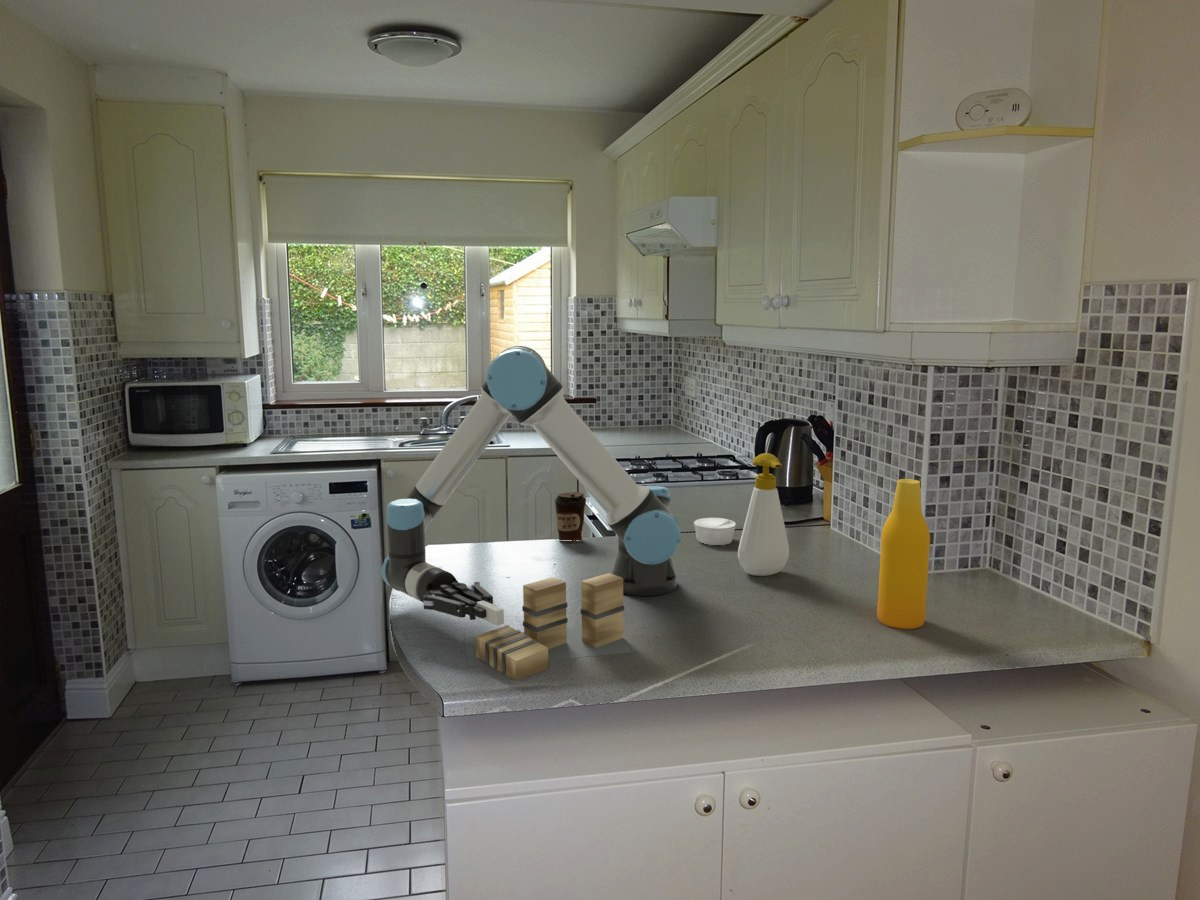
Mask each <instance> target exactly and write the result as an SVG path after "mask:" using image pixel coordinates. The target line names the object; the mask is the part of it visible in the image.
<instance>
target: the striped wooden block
mask: <svg viewBox="0 0 1200 900" xmlns="http://www.w3.org/2000/svg"><path fill="white" fill-rule="evenodd" d="M521 632H522V631H521V630H519V629H515V628H514V627H512V626H509V624H506V625H504V626H501V627H498V628H495V629H493V630H490V631H487V632H485V633H482V634H479V635H475V636H476V657H478V658H479V659H481V660H482V661H484V662H486V665H488V666H489V665H490V666H491V668H493V670H495V671H498V672H500V673H501V674H503V675H505V676H507V677H510V678H511V679H513V680H515V681H518V680H520V679H521V680H522V679H524V678H526V677H529V676H531V675H534V674H537V673H540V672H542V671H545V670H548V669H549V660H548V648H547V647H545V646H544V645H542V644H540V643H538V641H537V640H535V639H534V640H533V639H531V638H529V636H528V635H527V634H526V635H524V634H522V633H521ZM488 666H487V667H488ZM490 666H489V667H490Z"/></svg>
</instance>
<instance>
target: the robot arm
mask: <svg viewBox="0 0 1200 900" xmlns="http://www.w3.org/2000/svg"><path fill="white" fill-rule="evenodd" d="M564 391H565V387H564V386H563V385H562V383H561V381H559V380H558V379H557V377H556V376H555V375H554V374H553V373H552V371H550V369H549V368H548V367H547V365H546V363H545V360H544V359H543V358H542V355H540V353H538V352H537V351H536V350H534V349H532V348H530V347H528V346H526V345H525V346H523V345H514V346H510V347H508V348H506V349H504V350H503V351H501V352H500V353H498V354H497V355H496V356H495V357H494V359H492V360H491V362H490V364H489V366H488V368H487V371H486V380H485V381H484V383H483V384H482V386H481V387H480V392H481V395H480V397H479V398H478V399H477V400H476V402H475V404H473V406H472V407H471V408H470V410H469V411H468V413H467V414H466V416H465V418H464V419H462V422H460V424H459V425H458V426H457V428H456V429H455V431H454V432H453V434H452V435H451V436H450V437H449V439H448V440H447V441H446V444H444V446H443V447H442V448H441V450H440V451H439V453H438V454H437V456H436V457H435V458H434V459H433V461H432V463H431V464H430V465H429V466H428V468H427V469H426V471H425V472H424V473H423V475H422V476H421V478H419V480H418V481H417V483H416V484H415V486H414V487H413V488H412V490H411V491H410V492H409V494H408V495H407V497H405V498H401V499H400V498H399V499H395V500H393V501H389V503H388V504H387V506H386V518H385V521H386V525H387V529H386V530H387V542H388V543H387V545H388V556H387V557H385V559H384V561H383V563H382V566H381V568H380V569H381V570H380V573H381V575H380V576H381V577H382V580H383V581H384V582H385V583H386V584H387V585H388V586H389V587H391V588H392V589H393V590H395V591H397V592H401V593H403V594H406V595H407V596H408V597H412V598H413V599H415V600H417V601H419V602H421V603H423V609H424V610H430V611H437V612H440V613H444V614H446V615H450V616H452V617H453V616H454V617H457V618H463V619H464V618H465V617H466V616H469V620H470V621H475V620H477V618H478V619H482V620H484V621H486V622H489V623H490V624H493V625H495V626H497V627H498V626H501V625H504V624H505V618H504V617H505V613H504V611H505V610H504V609H503V608H501V607H500V606H498V605H496V604H494V596H493V595H492V594H491V593H490V592H489V591H488V590H486V588H484V587H482V585H481V582H480V581H475V582H473V584H471V585H467V584H466V583H463V582H459V581H458V580H457V578H456V577H455V576H454V575H453V573H451V572H449V571H448V570H444V569H442V568H440V567H438V566H436V565H432V564H430V563H427V561H426V556H427V555H426V531H427V529H428V528H429V526H430V524H431V522H432V521H433V520H434V519H435V517H436V516H437V515H438V513H439V512H440V510H441V509H442V508H443V506H444V505H445V503H447V501H448V500H449V498H450V497H451V495H452V494H453V493H454V491H455V490H456V489H457V487H458V486H459V485H460V484H461V482H462V480H463V479H464V478H465V477H466V476H467V474H468V472H469V471H470V470H471V468H472V467H473V466H474V464H475V463H476V462H477V460H478V459H479V458H480V456H481V455H482V453H484V451H485V450H486V448H487V447H488V446H489V444H490V443H491V441H492V440H493V439H494V437H496V435H497V434H498V432H499V431H500V429H501V428H502V427H503V425H504V424H505V422H507V420H508V418H509V417H510V416H513V417H514V419H515V420H516V421H517V422H518V423H519V424H520V425H521V426H530V427H532V428H533V429H534V430H535V432H537V434H538V435H539V436H540V438H542V440H543V441H544V442H545V443H546V444H547V445H548V447H549V448H550V449H551V450H552V451H553V452H554V453H555V455H556V456H557V457H558V459H560V460H561V461H562V462H563V464H564V465H565V466H566V467H567V469H568V470H569V471H570V472H571V473H572V474H573V476H574V477H576V479H577V480H578V481H579V482H580V483H581V485H582V486H583V487H584V488H585V489H586V491H587V492H588V493H589V494H590V495H591V496H592V498H593V499H594V500H595V501H596V502H597V503H598V504H599V505H600V506H601V508H603V510H604V511H605V513H606V519H605V520H606V521H605V523H606V525H607V526H608V527H609V528H610V529H611V530H612V532H613V533H615V535H616V536H617V538H618V547H617V548H618V552H617V556H616V559H615V562H614V565H613V568H612V571H611V573H610V574H613V575H616V576H619V577H622V578H623V594H627V595H630V596H642V597H643V596H645V597H646V596H658V595H663V594H667V593H670V592H672V591H674V590H676V588H677V586H678V577H677V576H678V575H677V573H676V569H675V566H674V563H673V560H672V557H673V556H674V555H675V554H676V552H677V550H678V549H679V548H680V547H679V546H680V543H681V536H682V535H681V527H680V524H679V521H678V520H677V519H676V518H675V515H674V514H673V513H672V511H671V506H670V505H671V500H672V498H671V492H670V489H669V488H667V487H665V486H658V485H638V484H637V483H636V481H635V480H634V479H633V478H632V477H631V475H629V473H628V472H627V471H626V469H624V467H623V466H621V464H620V463H619V462H618V461H617V459H616V458H615V457H614V456H613V455H612V454H611V452H610V451H609V450H608V449H607V447H605V445H604V444H603V443H602V441H600V440H599V438H598V437H597V435H596V434H594V432H593V431H592V430H591V429H590V428H589V427H588V426H587V424H586V423H585V422H584V421H583V419H582V418H581V417H580V416H579V415H578V414H577V412H576V411H575V410H574V409H573V408H572V407H571V406H570V404H569V403H568V402H567V400H566V399H565V398H564ZM476 617H477V618H476Z"/></svg>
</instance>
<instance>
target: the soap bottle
mask: <svg viewBox="0 0 1200 900" xmlns="http://www.w3.org/2000/svg"><path fill="white" fill-rule="evenodd" d="M752 465H755V466H760V467H761V466H762V473H758V474H757V476H755V478H754V480H755V481H754V485H755V486H754V487H753V489H752V493H751V496H750V501H749V505H748V509H747V512H746V513H747V514H746V516H745V521H744V524H743V529H742V532H741V537H740V540H739V545H738V548H737V549H738V550H737V557H738V561H739V563H740V566H741V568H742V569H743V570H744V572H746V573H747V574H749V575H750V576H754V577H766V576H773V575H776V574H778V573H779V572H780V571H782V570H783V568H784V567H785V566H786V564H787V561H788V559H789V556H790V545H789V542H788V541H789V540H788V536H787V531H786V526H785V520H784V516H783V511H782V507H781V501H780V496H779V490H778V488H777V486H776V485H777V477H776V476H775V475H774V474H773V473H770V468H773V469H778V468H779V469H781V468H782V467H783V464H782V463H780V459H779V458H778V457H776V456H775V455H774V454H772V453H768V452H764V453H760V454H758V455H757V456H755V457H754V459H753V460H752Z"/></svg>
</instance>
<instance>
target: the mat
mask: <svg viewBox="0 0 1200 900" xmlns="http://www.w3.org/2000/svg"><path fill="white" fill-rule="evenodd" d="M521 633H522V634H524V631H521ZM476 636H477V635H475V636H464V637H463V643H464V645H463V646H464V652H465V659H466V667H467V668H476V667H488V665H486V662H484V661H482V660H481V659H479V658H478V657H476ZM630 653H632V650H631V649H630V647H629V645H628V643H627V642H626V640H625V639H624V637H623V638H621V639H619V640H616V641H613V642H610V643H608V644H605V645H602V646H599V647H597V648H596V647H593V646H591V645H589V644H587V643H584V642H582V626H581V627H569V628H567V643H565V644H562V645H559V646H556V647H553V648H550V649H548V661H553V660H565V659H566V660H567V659H574V658H575V659H577V658H586V657H587V658H588V657H599V656H608V655H619V654H630ZM489 667H490V665H489Z"/></svg>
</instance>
